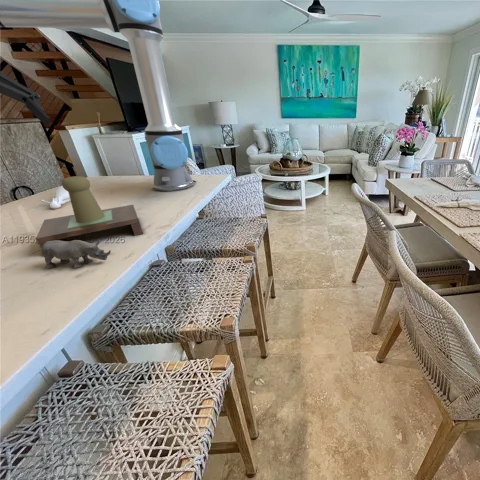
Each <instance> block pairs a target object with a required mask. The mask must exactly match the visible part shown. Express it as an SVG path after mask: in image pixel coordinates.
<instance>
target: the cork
mask: <svg viewBox="0 0 480 480" xmlns="http://www.w3.org/2000/svg"><path fill="white" fill-rule="evenodd" d="M61 186H63V188H64V189H65V190H66V191H68V193H69V196H70V200H71V201H70V203H71V207H72V211H73V215H75V219H76V222H79V223H86V222H92V221H96V220H99V219H102V218H103V217H105V215H104V213H103V212H102V210H103V209H102V208H101V207H100V205H99V202H98V201H97V200H96V198H95V197H94V195H93V193H92V191H91V190H90V187H91V184H90V180H89V179H88V178H87V177H85V176H82V175H73V176H68V177H65V178H63V179H62V180H61Z"/></svg>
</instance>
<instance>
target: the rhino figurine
mask: <svg viewBox="0 0 480 480" xmlns="http://www.w3.org/2000/svg"><path fill="white" fill-rule="evenodd" d="M100 242H101V240H100V239H98V241H96V242H95V243H90V242H88V241H84V240H79V239H73V240H69V241H65V240H60V241H59V240H54V241H46V242H45V243H44V245H43V247H42V249H41V255H42V257H43V258H44V263H45V264H46V268H47V269H50V268H51V269H53V268H54V267H55V266H56V263H54V262H52V260H53V259H54V258H56V259H59V260H60V263H69V262H71V261H72V262H73V264H72V266H73V268H74V269H78V268H81V267H82V266H83V264H82V263H80V258H82V259H83V262H84V263H86V264H87V263H91V262H93V259H96V260H100V261H106V260H107V259H108V256H109V255H110V254H111V252H112V251H111V249H110V250H108V251H107V252H105V249H101V248H99V247H98V245H100Z"/></svg>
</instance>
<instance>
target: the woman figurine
mask: <svg viewBox="0 0 480 480" xmlns="http://www.w3.org/2000/svg"><path fill="white" fill-rule="evenodd" d="M40 202H41V203H46V204H48V205H49V208H51V209H53V210H56V209H59V208H62V205H65V203H68V202H71V200H70V196H69V193H68V191H66V190H65V189H64V188H63V186H62V185H61V186H59V187H57V188H56V191H55V194H54V197H52V200H51V201H47V200H44V199H40Z"/></svg>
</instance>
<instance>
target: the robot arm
mask: <svg viewBox="0 0 480 480" xmlns="http://www.w3.org/2000/svg"><path fill="white" fill-rule="evenodd" d="M160 14H161V5H160V1H159V0H0V28H35V29H37V28H39V29H42V28H45V29H46V28H47V29H48V28H49V29H50V28H52V29H108V30H110V31H111V32H112V33H119V34H121V35H122V36H123V37H124V38H126V40H127V43H128V46H129V51H130V54H131V58H132V63H133V67H134V72H135V75H136V79H137V83H138V87H139V92H140V96H141V100H142V104H143V108H144V111H145V116H146V120H147V126H146V127H145V129H144V132H143V133H144V140H145V141H146V145H147V148H148V152H149V156H150V160H151V163H152V166H153V170H154V173H153V188H154V190H155V191H158V192H174V191H182V190H187V189H189V188H191V187H193V186H194V183H197V181H196V180H194V179H193V178H192V176H191V175H190V173H189V171H188V170H187V168H186V165H185V164H186V163H187V161H188V158H189V151H188V148H187V146H186V144H185V140H184V135H183V129H182V128H181V127H180V126H179V125H177V123H176V118H175V113H174V108H173V103H172V98H171V93H170V88H169V83H168V78H167V74H166V69H165V63H164V59H163V54H162V48H161V42H162V40H164V33H163V28H162V22H161V17H160ZM0 94H1V95H3V96H6V97H8V98H10V99H13V100H15V101H17V102H20V103H22V104H24V105H25V108H27V109H28V110H29V112H30V113H32V115H34V116H35V117H36V118H37V119H38V120H39V122H41V123H42V124H43V125H44V126H45V127H49V126H50V123H51V117H50V116H49V115H48V114H47V113H46V112H45V109H44V107H43V106H42V105H41V104H40V101H41V95H40V94H39V93H37V92H35V91H33V90H32V89H30V88H28V87H27V86H25V85H24V84H21V83H19V82H18V81H16V80H15V79H13V78H11V77H9V76H8V75H6V74H4V72H2V71H1V70H0Z"/></svg>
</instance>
